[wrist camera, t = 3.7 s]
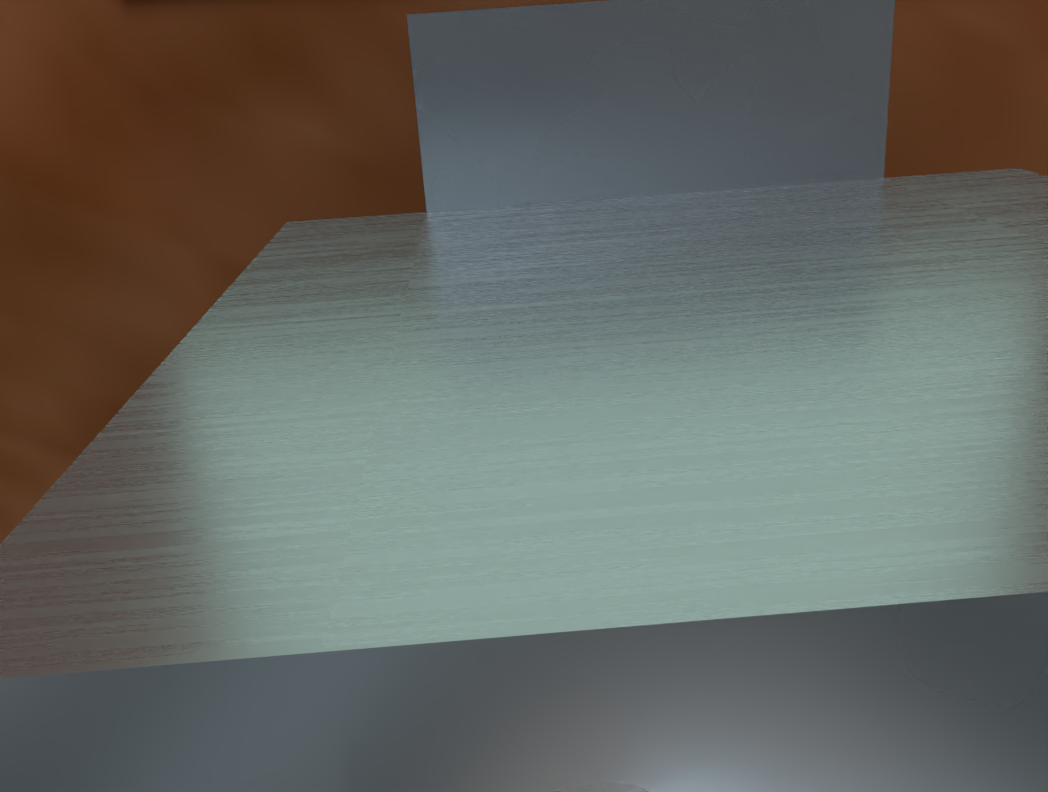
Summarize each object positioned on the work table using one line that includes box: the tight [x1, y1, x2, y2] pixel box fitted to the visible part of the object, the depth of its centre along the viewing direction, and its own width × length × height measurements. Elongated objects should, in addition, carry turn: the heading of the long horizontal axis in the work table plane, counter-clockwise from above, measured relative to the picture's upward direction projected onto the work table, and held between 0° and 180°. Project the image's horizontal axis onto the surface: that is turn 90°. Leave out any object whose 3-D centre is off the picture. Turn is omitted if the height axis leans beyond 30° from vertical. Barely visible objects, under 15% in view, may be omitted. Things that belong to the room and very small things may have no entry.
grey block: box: [407, 0, 895, 212], centre depth 10 cm, size 5×12×15 cm, turn 4°
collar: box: [0, 168, 1048, 792], centre depth 9 cm, size 8×8×8 cm
